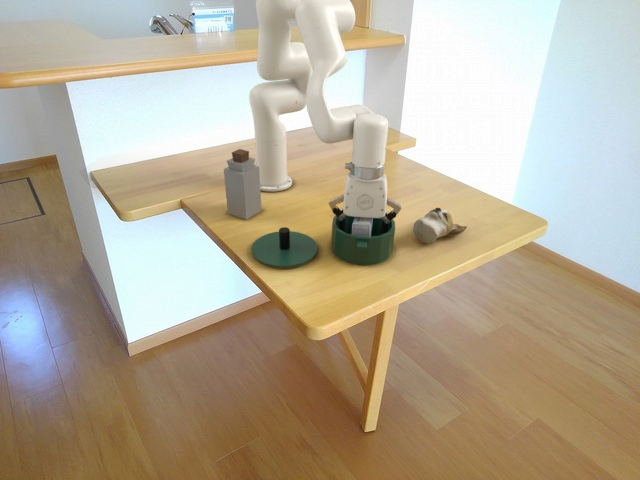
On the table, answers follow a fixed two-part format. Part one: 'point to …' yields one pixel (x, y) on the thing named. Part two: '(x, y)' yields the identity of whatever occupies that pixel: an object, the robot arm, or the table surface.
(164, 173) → the table surface
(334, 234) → the pot
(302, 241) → the lid
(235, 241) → the table surface
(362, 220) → the medicine box
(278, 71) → the robot arm
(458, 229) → the ceramic sculpture
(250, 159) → the perfume bottle
